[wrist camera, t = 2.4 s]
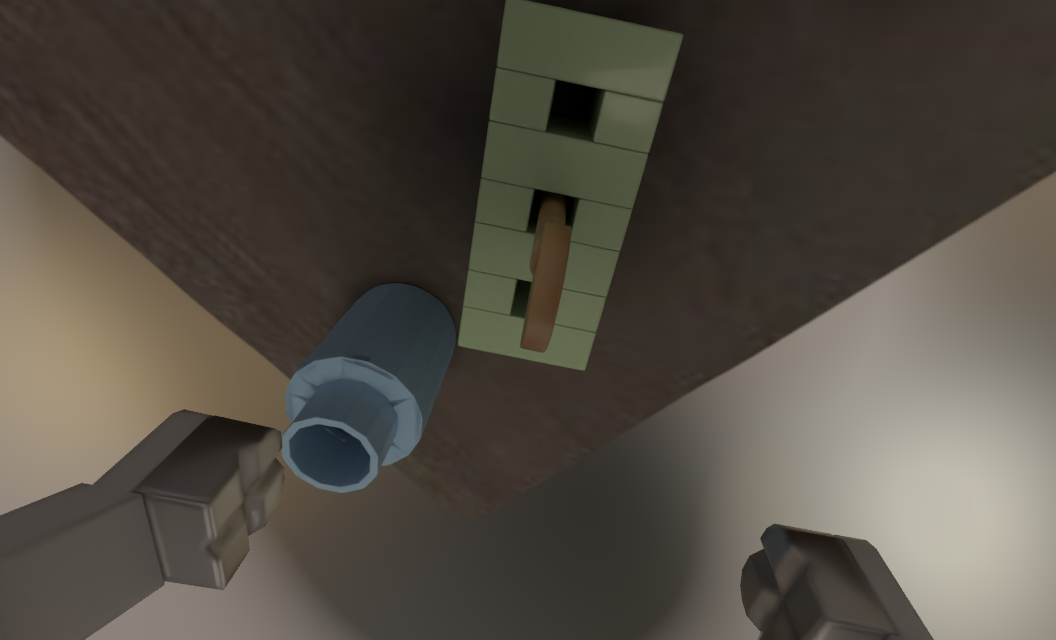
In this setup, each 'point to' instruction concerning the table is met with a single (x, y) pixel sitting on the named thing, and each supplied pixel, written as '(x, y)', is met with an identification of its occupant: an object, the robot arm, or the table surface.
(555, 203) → the spoon
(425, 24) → the table surface
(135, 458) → the robot arm
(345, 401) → the bottle
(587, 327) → the stand
